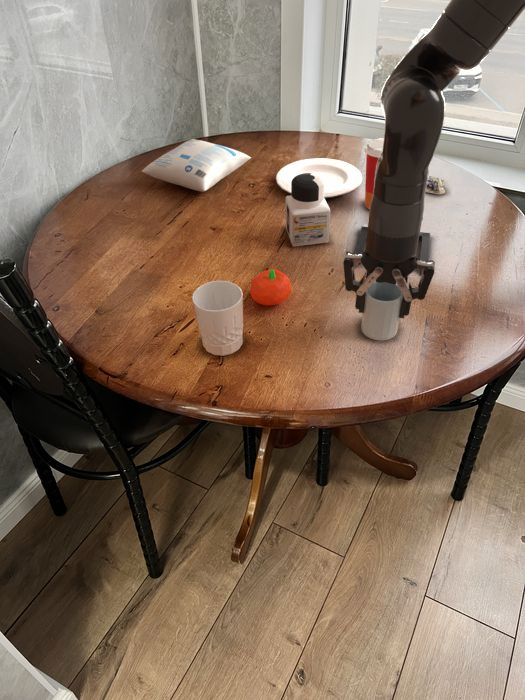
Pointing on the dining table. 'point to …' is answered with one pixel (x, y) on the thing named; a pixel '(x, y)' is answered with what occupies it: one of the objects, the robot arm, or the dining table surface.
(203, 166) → the pouch
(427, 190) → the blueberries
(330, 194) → the plate
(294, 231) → the container
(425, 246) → the frame
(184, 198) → the dining table surface
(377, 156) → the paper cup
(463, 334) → the dining table surface
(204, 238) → the dining table surface
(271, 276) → the pumpkin
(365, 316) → the pale grey cup
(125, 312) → the dining table surface
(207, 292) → the white cup
